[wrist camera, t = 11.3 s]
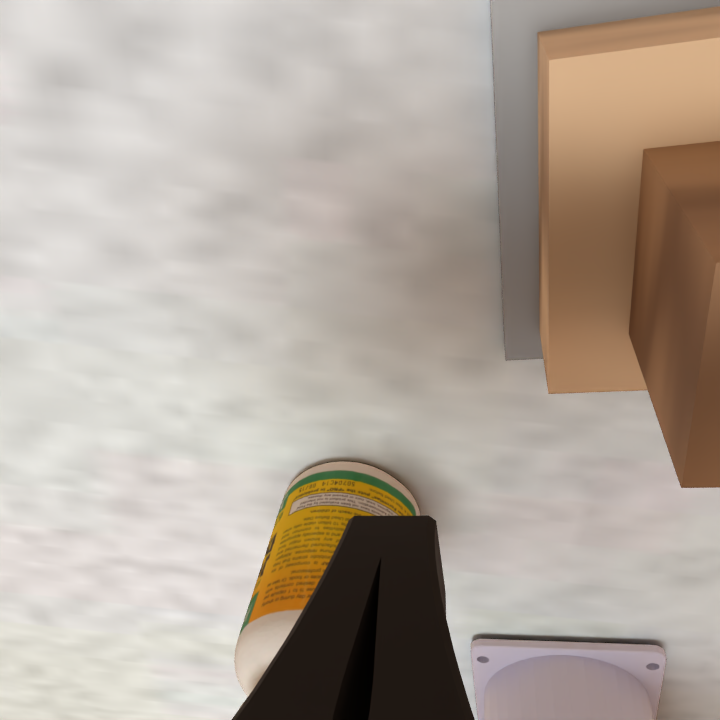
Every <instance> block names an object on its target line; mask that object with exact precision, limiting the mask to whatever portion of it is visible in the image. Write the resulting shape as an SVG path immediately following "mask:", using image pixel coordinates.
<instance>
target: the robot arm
mask: <svg viewBox="0 0 720 720" xmlns="http://www.w3.org/2000/svg"><path fill="white" fill-rule="evenodd" d="M471 658H472V668H473V677H474V686H475V695H476V705H477V714H478V720H656V717H657V711H658V705H659V699H660V693H661V688H662V682H663V676H664V670H665V665H666V655H665V651H664V649H663V648H662V647H660V646H657V645H644V644H616V643H588V642H560V641H531V640H503V639H477V640H474V641H473V642H472V643H471ZM232 720H474V717H473V714H472V711H471V707H470V704H469V701H468V698H467V694H466V691H465V688H464V685H463V681H462V678H461V675H460V671H459V668H458V664H457V660H456V657H455V653H454V650H453V645H452V641H451V637H450V633H449V629H448V625H447V620H446V598H445V585H444V578H443V570H442V563H441V555H440V548H439V540H438V533H437V525H436V521H435V520H434V519H433V518H431V517H430V516H353V517H352V518H351V519H350V520H349V521H348V523H347V526H346V528H345V530H344V532H343V535H342V537H341V539H340V541H339V543H338V545H337V547H336V549H335V551H334V553H333V555H332V557H331V559H330V561H329V563H328V565H327V567H326V569H325V571H324V573H323V575H322V577H321V579H320V580H319V582H318V584H317V586H316V588H315V590H314V592H313V593H312V595H311V597H310V599H309V600H308V602H307V604H306V605H305V607H304V609H303V611H302V612H301V614H300V616H299V618H298V619H297V621H296V623H295V625H294V626H293V628H292V630H291V631H290V633H289V635H288V636H287V638H286V640H285V641H284V643H283V644H282V646H281V647H280V649H279V651H278V652H277V654H276V655H275V657H274V658H273V660H272V661H271V663H270V664H269V666H268V668H267V669H266V671H265V672H264V674H263V675H262V677H261V678H260V680H259V681H258V683H257V684H256V686H255V687H254V689H253V690H252V692H251V693H250V695H249V696H248V698H247V699H246V700H245V702H244V703H243V705H242V706H241V708H240V709H239V710H238V712H237V713H236V715H235V716H234V717H233V719H232Z"/></svg>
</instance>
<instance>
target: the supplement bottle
mask: <svg viewBox="0 0 720 720" xmlns="http://www.w3.org/2000/svg"><path fill="white" fill-rule="evenodd" d="M353 516H420V511H419V508H418V505H417V503H416V501H415V499H414V497H413V496H412V494H411V493H410V492H409V491H408V489H406V488H405V487H404V486H403V484H401V483H400V482H398V481H397V480H396V479H395V478H393V477H392V476H390V475H389V474H387V473H386V472H384V471H382V470H380V469H377V468H375V467H372V466H370V465H366V464H362V463H357V462H343V461H341V462H330V463H325V464H322V465H318V466H315V467H313V468H310V469H308V470H307V471H305V472H303V473H302V474H300V475H299V476H298V477H297V478H296V479H295V480H294V481H293V482H292V483H291V485H290V486H289V487H288V489H287V491H286V493H285V495H284V498H283V501H282V504H281V507H280V510H279V513H278V516H277V519H276V522H275V526H274V529H273V532H272V535H271V538H270V541H269V545H268V548H267V551H266V555H265V558H264V560H263V563H262V567H261V570H260V573H259V576H258V579H257V582H256V585H255V588H254V591H253V595H252V598H251V601H250V604H249V607H248V610H247V613H246V616H245V619H244V622H243V625H242V628H241V631H240V635H239V638H238V641H237V645H236V649H235V661H234V662H235V671H236V675H237V678H238V681H239V683H240V685H241V687H242V689H243V691H244V692H245V693H246V695H247V696H249V695H250V693H251V692H252V690H253V689H254V687H255V686H256V684H257V683H258V681H259V680H260V678H261V677H262V675H263V674H264V672H265V671H266V669H267V668H268V666H269V664H270V663H271V661H272V660H273V658H274V657H275V655H276V654H277V652H278V651H279V649H280V647H281V646H282V644H283V643H284V641H285V640H286V638H287V636H288V635H289V633H290V631H291V630H292V628H293V626H294V625H295V623H296V621H297V619H298V618H299V616H300V614H301V612H302V611H303V609H304V607H305V605H306V604H307V602H308V600H309V599H310V597H311V595H312V593H313V592H314V590H315V588H316V586H317V584H318V582H319V580H320V579H321V577H322V575H323V573H324V571H325V569H326V567H327V565H328V563H329V561H330V559H331V557H332V555H333V553H334V551H335V549H336V547H337V545H338V543H339V541H340V539H341V537H342V535H343V532H344V530H345V528H346V526H347V523H348V521H349V520H350V519H351V518H352V517H353ZM242 705H243V704H242ZM242 705H241V706H242ZM240 708H241V707H240ZM240 708H239V709H240Z"/></svg>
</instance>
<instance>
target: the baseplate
mask: <svg viewBox="0 0 720 720" xmlns="http://www.w3.org/2000/svg"><path fill="white" fill-rule="evenodd" d="M490 2H491V26H492V50H493V74H494V99H495V123H496V147H497V171H498V195H499V219H500V243H501V268H502V292H503V316H504V340H505V359H506V360H525V359H544V358H543V352H542V345H541V338H540V331H539V187H538V39H537V32H542V31H549V30H556V29H563V28H570V27H577V26H584V25H591V24H598V23H605V22H612V21H619V20H626V19H634V18H641V17H648V16H655V15H662V14H669V13H676V12H683V11H690V10H697V9H704V8H711V7H718V6H720V0H490Z"/></svg>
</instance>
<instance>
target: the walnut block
mask: <svg viewBox="0 0 720 720" xmlns="http://www.w3.org/2000/svg"><path fill="white" fill-rule="evenodd" d="M629 337H630V339H631V342H632V345H633V348H634V351H635V354H636V357H637V360H638V363H639V366H640V369H641V372H642V375H643V377H644V380H645V383H646V386H647V389H648V392H649V395H650V398H651V401H652V404H653V407H654V410H655V412H656V415H657V418H658V421H659V424H660V427H661V430H662V433H663V436H664V439H665V442H666V445H667V447H668V450H669V453H670V456H671V459H672V462H673V465H674V468H675V471H676V474H677V477H678V480H679V482H680V485H681V488H704V487H720V141H714V142H704V143H695V144H685V145H676V146H666V147H657V148H647V149H643V159H642V172H641V184H640V197H639V209H638V222H637V235H636V247H635V260H634V272H633V285H632V297H631V310H630V322H629Z"/></svg>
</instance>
